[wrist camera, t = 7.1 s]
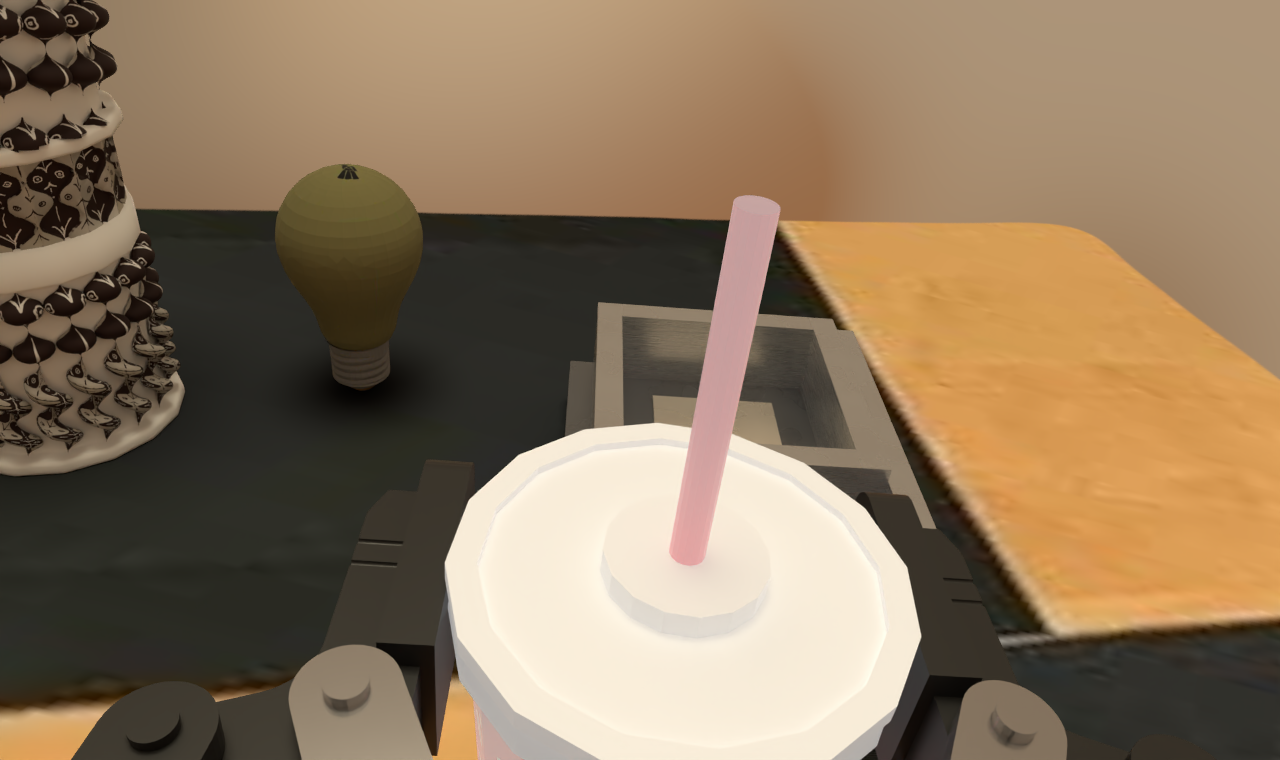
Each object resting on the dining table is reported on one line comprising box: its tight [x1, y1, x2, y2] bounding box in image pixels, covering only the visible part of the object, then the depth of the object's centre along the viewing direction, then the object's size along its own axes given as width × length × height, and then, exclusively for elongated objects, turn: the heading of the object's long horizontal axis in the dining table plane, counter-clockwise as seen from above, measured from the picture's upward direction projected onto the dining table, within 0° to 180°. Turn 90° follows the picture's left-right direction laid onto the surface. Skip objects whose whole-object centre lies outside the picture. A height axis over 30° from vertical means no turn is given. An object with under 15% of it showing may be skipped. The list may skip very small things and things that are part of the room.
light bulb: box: [275, 164, 423, 391], centre depth 37 cm, size 6×6×10 cm
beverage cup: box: [445, 195, 921, 760], centre depth 13 cm, size 6×6×14 cm
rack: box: [565, 302, 936, 760], centre depth 32 cm, size 12×18×5 cm, turn 1°
